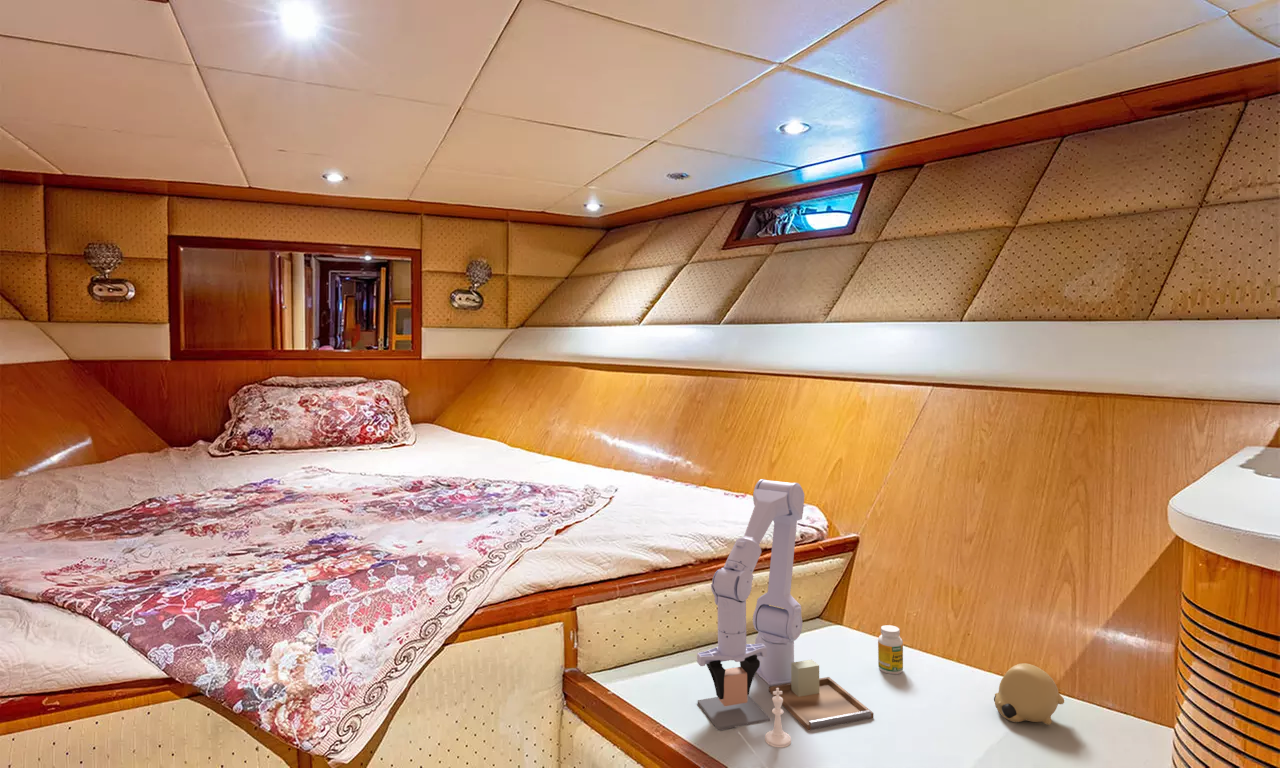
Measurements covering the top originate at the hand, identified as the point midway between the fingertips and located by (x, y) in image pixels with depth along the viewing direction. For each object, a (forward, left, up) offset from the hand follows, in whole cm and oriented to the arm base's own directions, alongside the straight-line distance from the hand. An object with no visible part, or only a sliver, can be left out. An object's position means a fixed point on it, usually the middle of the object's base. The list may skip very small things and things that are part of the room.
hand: (732, 694), depth 136 cm
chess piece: (+12, +4, -4) cm, 13 cm away
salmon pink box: (0, 0, -1) cm, 1 cm away
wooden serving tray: (+3, +18, -3) cm, 19 cm away
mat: (0, 0, -3) cm, 3 cm away
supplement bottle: (-6, +42, -4) cm, 43 cm away
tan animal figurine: (+20, +54, -4) cm, 58 cm away
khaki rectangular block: (-3, +18, -3) cm, 18 cm away
